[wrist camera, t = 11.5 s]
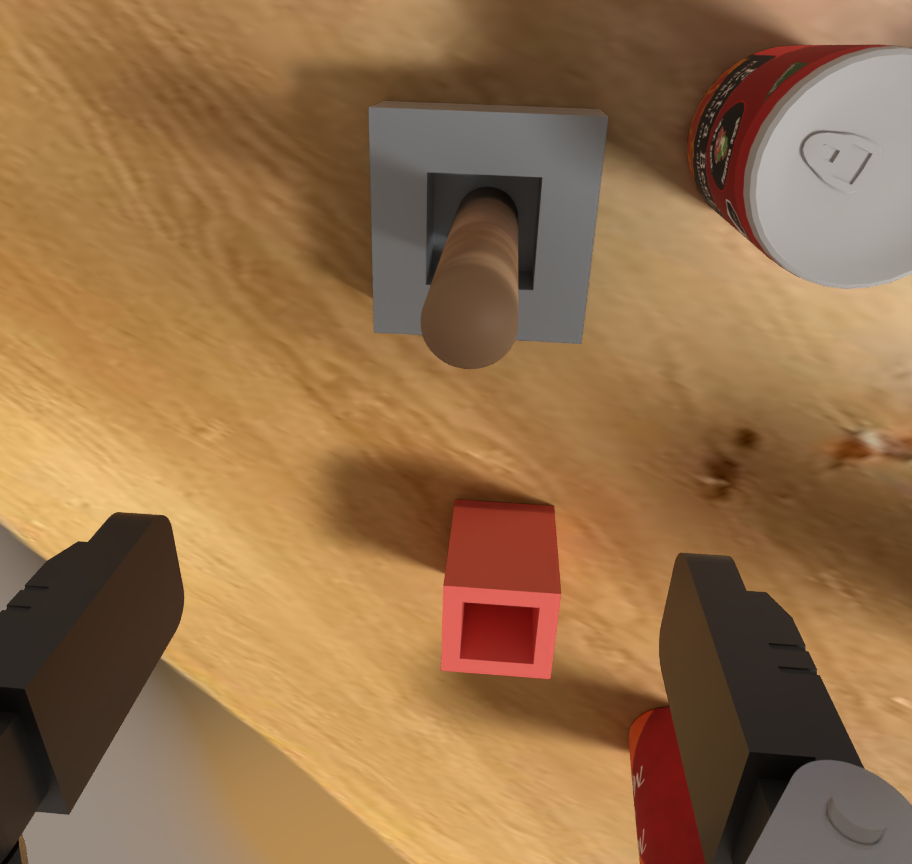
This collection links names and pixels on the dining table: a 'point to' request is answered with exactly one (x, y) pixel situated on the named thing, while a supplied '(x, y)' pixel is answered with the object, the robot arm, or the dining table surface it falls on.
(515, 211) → the dowel
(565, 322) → the holder
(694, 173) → the canned food
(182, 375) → the dining table surface
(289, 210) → the dining table surface
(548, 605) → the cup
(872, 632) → the dining table surface
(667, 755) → the paper cup
